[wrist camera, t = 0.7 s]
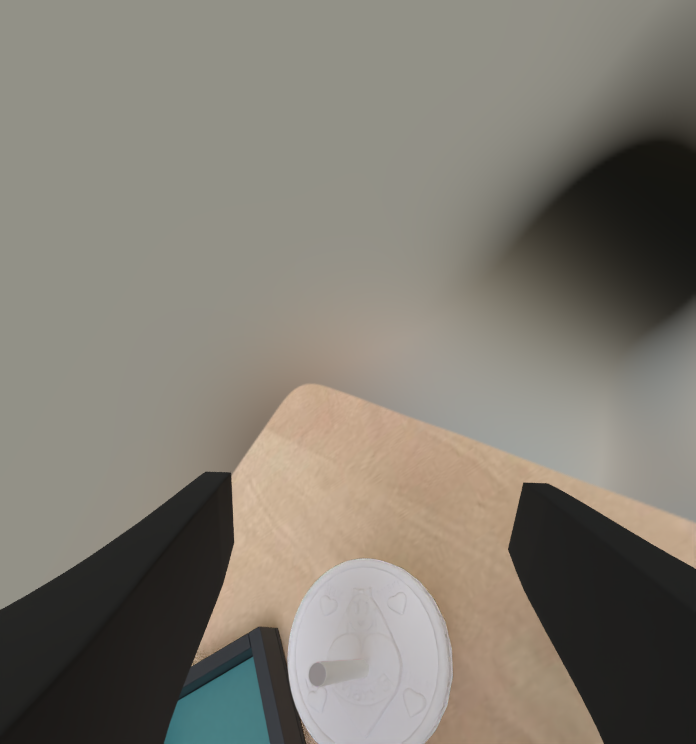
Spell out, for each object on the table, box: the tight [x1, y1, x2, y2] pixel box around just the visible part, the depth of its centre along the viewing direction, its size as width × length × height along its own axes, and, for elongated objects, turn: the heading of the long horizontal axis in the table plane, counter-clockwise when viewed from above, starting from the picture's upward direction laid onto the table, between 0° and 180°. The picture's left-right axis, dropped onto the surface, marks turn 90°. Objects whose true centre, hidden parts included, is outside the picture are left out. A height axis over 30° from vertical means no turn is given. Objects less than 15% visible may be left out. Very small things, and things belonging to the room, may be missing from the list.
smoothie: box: [288, 558, 453, 744], centre depth 16 cm, size 6×6×14 cm
